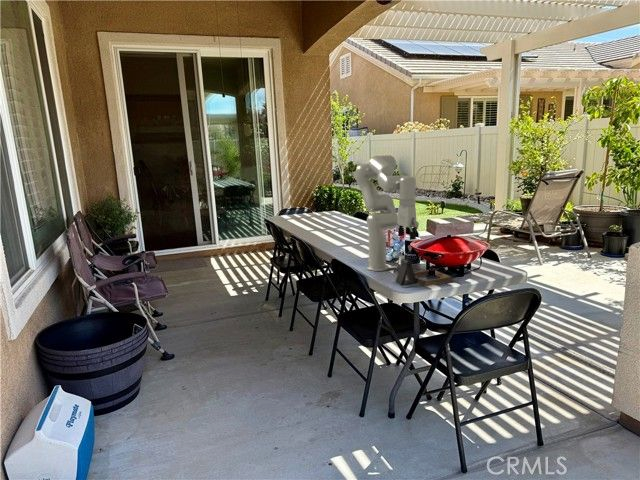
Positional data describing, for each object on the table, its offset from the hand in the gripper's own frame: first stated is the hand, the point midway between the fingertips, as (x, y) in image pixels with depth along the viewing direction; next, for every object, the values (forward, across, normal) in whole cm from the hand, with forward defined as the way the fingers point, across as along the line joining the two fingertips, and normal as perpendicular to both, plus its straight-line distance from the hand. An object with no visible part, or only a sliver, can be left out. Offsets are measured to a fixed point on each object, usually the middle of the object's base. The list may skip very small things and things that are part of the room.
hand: (406, 237), depth 216 cm
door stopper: (+23, 0, 0) cm, 23 cm away
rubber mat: (+24, 0, 0) cm, 24 cm away
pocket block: (+24, 0, +14) cm, 27 cm away
